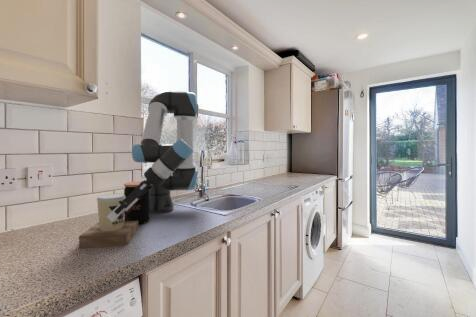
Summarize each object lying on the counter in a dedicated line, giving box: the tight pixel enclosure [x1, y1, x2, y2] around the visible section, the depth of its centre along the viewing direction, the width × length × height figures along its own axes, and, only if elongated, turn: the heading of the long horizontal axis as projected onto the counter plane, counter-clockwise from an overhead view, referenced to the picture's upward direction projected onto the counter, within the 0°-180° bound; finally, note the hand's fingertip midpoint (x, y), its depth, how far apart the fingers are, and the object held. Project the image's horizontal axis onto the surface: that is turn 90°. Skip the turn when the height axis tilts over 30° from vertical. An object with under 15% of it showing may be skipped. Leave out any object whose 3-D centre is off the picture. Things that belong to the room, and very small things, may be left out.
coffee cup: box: [96, 193, 126, 231], centre depth 85 cm, size 9×9×12 cm
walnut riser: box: [78, 221, 139, 249], centre depth 86 cm, size 15×15×4 cm
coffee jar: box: [123, 181, 151, 226], centre depth 105 cm, size 11×11×18 cm
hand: (117, 213), depth 85 cm, fingers open, 13 cm apart
